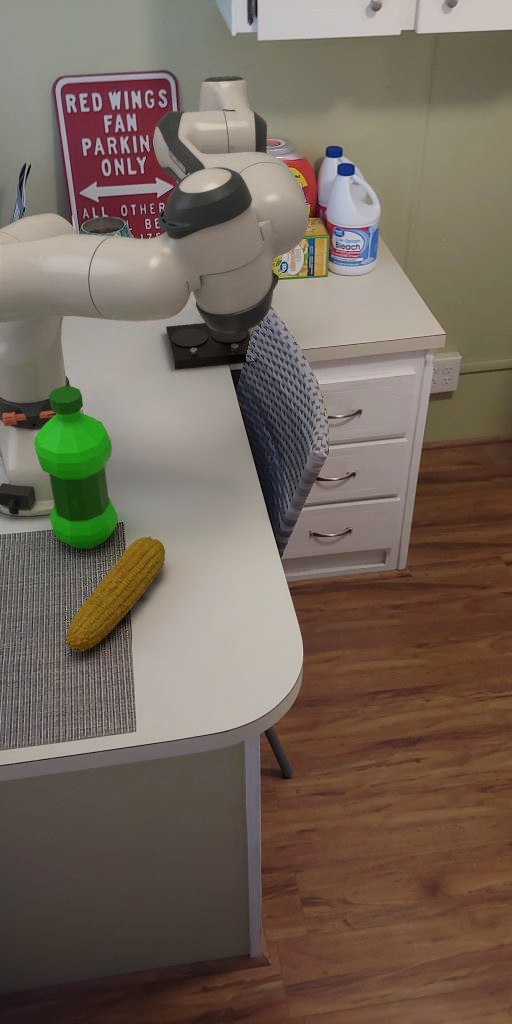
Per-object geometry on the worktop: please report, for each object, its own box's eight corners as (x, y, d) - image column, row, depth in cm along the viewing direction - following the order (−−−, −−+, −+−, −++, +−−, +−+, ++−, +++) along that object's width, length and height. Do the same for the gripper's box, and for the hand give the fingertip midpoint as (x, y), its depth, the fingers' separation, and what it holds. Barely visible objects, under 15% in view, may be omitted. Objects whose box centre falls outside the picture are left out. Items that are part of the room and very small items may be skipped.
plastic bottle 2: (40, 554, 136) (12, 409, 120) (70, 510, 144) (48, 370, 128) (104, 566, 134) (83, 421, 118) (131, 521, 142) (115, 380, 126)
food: (138, 557, 136) (135, 525, 132) (172, 567, 134) (170, 536, 130) (59, 655, 121) (52, 623, 117) (96, 668, 119) (91, 636, 115)
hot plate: (256, 361, 180) (256, 347, 178) (174, 369, 178) (174, 355, 176) (244, 328, 191) (243, 314, 189) (166, 335, 189) (165, 321, 187)
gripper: (279, 163, 168) (278, 237, 177) (167, 171, 165) (171, 245, 174) (286, 175, 164) (285, 250, 172) (171, 183, 161) (175, 259, 169)
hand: (227, 248), depth 173 cm, fingers closed on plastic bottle, 6 cm apart
